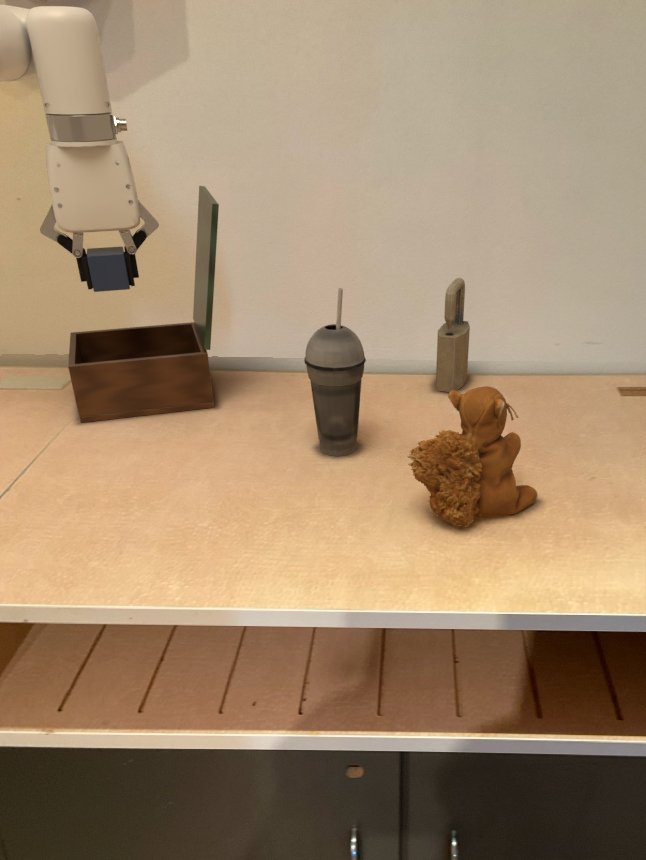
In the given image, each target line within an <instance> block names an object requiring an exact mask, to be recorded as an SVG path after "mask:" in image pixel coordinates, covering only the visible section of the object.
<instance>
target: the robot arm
mask: <svg viewBox="0 0 646 860" xmlns="http://www.w3.org/2000/svg"><path fill="white" fill-rule="evenodd" d="M33 79H37V81H38V82H37V83H38V87H39V91H40V96H41V99H42V101H41V102H42V105H43V110H44V116H45V121H46V124H47V129H48V134H49V139H50V142H47V143H45V164H46V173H47V181H48V186H49V193H50V199H51V205H50V207H49V209H48V212H47V213H46V215H45V217H44V219H43V221H42V224H41V225H40V228H39V232H40V234H41V235H43V236H45V237H46V238H48V239H50V240H52V241H53V242H56V243H57V244H58V245H60V246H61V247H62V248H64V249H65V250H66V251H67V252H69V253H70V254H72V256H73V257H74V258H76V259H75V260H76V264H77V268H78V269H77V270H78V273H79V278H80V282H81V283H84V282H86V286H87V290H93V285H92V280H91V275H90V270H89V265H88V260H87V250H86V248H84V233H96V232H98V233H99V232H117V231H118V232H119V235H120V238H121V239H122V242H123V244H124V246H123V250H124V257H125V263H126V268H127V274H128V280H129V285H130V287H135V286H136V283H135V279H140V274H139V270H138V269H139V268H138V262H137V256H136V254H137V251H138V250H139V249H140V247H141V246H142V245H143V243H144V242H145V241H146V239H147V238H149V237H150V236H151V235H152V233H154V232H155V231H156V230H157V229H158V228H159V226H160V223H159V221H158V220H157V219H156V217H155V216H154V215H153V214H152V213H151V212H150V211H149V209H147V207H146V206H145V205H144V204H143V203H142V202H141V201H140V200H139V198H138V197H139V196H138V192H137V188H136V182H135V179H134V174H133V169H132V166H131V162H130V158H129V155H128V152H127V149H126V146H125V144H124V141H122V140H118V139H117V135H119V133H122V132H128V125H127V121H126V118H120V117H116V115H113V109H112V103H111V98H110V93H109V86H108V80H107V74H106V69H105V63H104V56H103V51H102V44H101V39H100V34H99V28H98V23H97V21H96V18H95V17H94V15H93V14H92V12H91V11H90V10H88V9H86V8H84V7H80V6H68V5H67V6H63V5H41V6H34V7H32V8H25V7H21V6H20V7H19V6H15V5H8V4H0V82H17V81H18V82H19V81H25V80H33ZM141 219H142V221H143V224H142V226H140V227H139V225H140V224H141ZM55 225H57V227H58V229H57V228H56V227H55ZM138 227H139V228H138ZM136 228H138V229H136ZM59 229H60V230H61V231H60V230H59ZM133 229H136V231H135V233H133V234H132V233H131V230H133ZM62 231H63V232H62ZM64 232H66V233H70V234H72V238H71V237H70V236H69V235H67V234H66V233H64Z"/></svg>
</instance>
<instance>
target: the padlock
mask: <svg viewBox="0 0 646 860" xmlns="http://www.w3.org/2000/svg"><path fill="white" fill-rule="evenodd" d="M465 296H466V283H465V280H464V279H463V278H462V277H456V278H455V279H454V280H453V281H452V282H451V283H450V284H449V285H448V287H447V288H446V291H445V297H444V316H443V317H444V321H445V322H444V323H442V324H441V326H440V327H439V329H438V330H437V339H436V341H437V343H436V344H437V345H436V366H435V367H436V370H435V371H436V372H435V386H436V391H438V392H444V393H445V392H447V393H450V392H451V391H453V390H455V391H458V390H460V389H461V388H463V386H464V385H465V383H466V382H467V380H468V368H469V367H468V366H469V365H468V364H469V348H470V333H471V332H470V331H471V330H470V329H471V325H470V322H469V320H464V319H465V318H464V317H465V315H464V314H465Z"/></svg>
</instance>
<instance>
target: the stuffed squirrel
mask: <svg viewBox="0 0 646 860" xmlns="http://www.w3.org/2000/svg"><path fill="white" fill-rule="evenodd" d="M447 397H448V399H449V402H450V403H451V404H452V405H453V407H454V409H455V410H456V411H457V412H458V413H459V419H460V429H461V430H462V431H461V432H460V433H459V431H453V430H451V429H450V430H449V429H448V430H443V429H442V430H439V432H438V434H436V435H435V436H434V437H433V438H429V439H426V440H425V439H423V440H421V441H418V442H417V445H418V446H417V447H413V448H411V449H410V450H409V455H407V456H406V457H407V458H408V459H410V460H411V461H412V462H409V463H407V465H408V466H409V467H411V471H412V476H413V477H414V479H415V480H417V482H419V483H420V484H423V486H424V487H425V488H426V489H427V491H428V492H429V494H430V495H429V500H428V503H429V508H430V510H431V512H432V514H433V515H434V516H437V517H438V518H441V520H444V522H445V521H446V522H448V523H450V524H452V525H454V526H458V527H459V526H460V527H463V528H466V527H469V526H470V525H471V523H473V521H475V518H478V517H481V516H485V517H495V516H505V515H514V514H516V513H519V512H520V511H522V510H524V509H525V508H527V507H529V506H530V505H532V504H533V503H534V502H535V501H536V500H537V498H538V491H537V490H536V489H535V488H534V487H532V486H531V485H527V484H520V485H517V481H516V477H515V473H514V471H513V467H514V463H515V460H516V459H517V457H518V455H519V454H520V450H521V446H522V442H521V437H520V435H519V433H516V432H513V431H512V432H509V433H507V434H506V435H505V436H503V435H502V434H503V432H504V430H505V427H506V423H507V417H508V414H509V415H510V420H511V421H514V420H515V418H514V416H515V417H516V419H519V415H518V414H517V412H516V410H515V409H514V408H513V406H511V405H510V404H509V403H508V402H507V401H506V398H505V396H504V395H503V394H502V393H501V391H500V390H498V389H497V388H495V387H492V386H486V385H485V386H484V385H483V386H477V387H475V388H471V389H468V390H466V391H465V392H464V393H461V392H459V391H458V390H456V391H455V390H453V391H451V392H448V395H447ZM512 412H513V413H512ZM513 414H514V416H513Z"/></svg>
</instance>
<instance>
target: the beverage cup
mask: <svg viewBox="0 0 646 860" xmlns="http://www.w3.org/2000/svg"><path fill="white" fill-rule="evenodd" d="M343 293H344V289H343V288H338V289H337V304H336V305H337V307H336V322H335V323H332V324H331V323H330V324H327V325H323V326H322V327H319V329H317V330H316V331H315V332H314V333H313V334H312V335H311V337H310V338H309V340H308V342H307V344H306V348H305V356H304V360H303V361H304V364H305V366H306V367H305V368H306V372H307V375H308V379H309V382H310V388H311V389H310V390H311V395H312V402H313V409H314V417H315V423H316V429H317V430H316V431H317V438H318V441H319V448H320V451H321V452H322V453H323V454H325V455H326V456H332V457H343V456H348V455H350V454H353V453H354V452H356V449H357V441H358V435H359V423H360V422H359V421H360V405H361V392H362V379H363V377H364V371H365V364H366V361H367V360H366V357H365V351H364V347H363V344H362V341H361V339H360V338H359V336H358V335H357V334H356V333H355V332H354V331H353V330H352V329H351V328H349V327H347V326H345V325H341V324H342V312H343Z"/></svg>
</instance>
